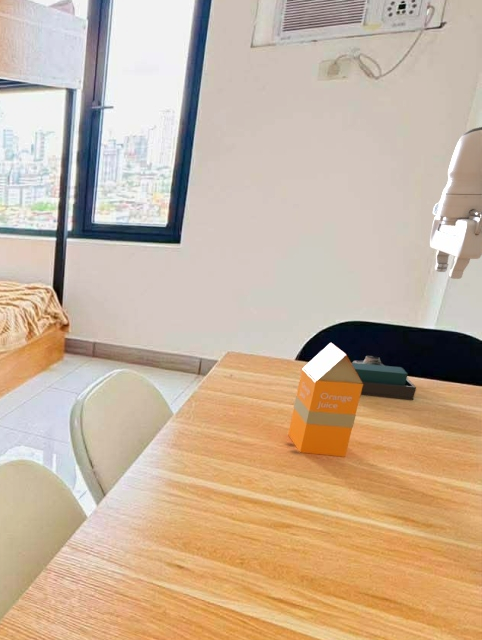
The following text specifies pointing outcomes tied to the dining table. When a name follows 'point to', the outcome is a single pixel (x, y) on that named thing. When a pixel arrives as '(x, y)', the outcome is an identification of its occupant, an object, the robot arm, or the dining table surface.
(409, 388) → the dark grey tray
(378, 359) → the grey shoe
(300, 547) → the dining table surface
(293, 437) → the orange juice
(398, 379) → the dark teal block
